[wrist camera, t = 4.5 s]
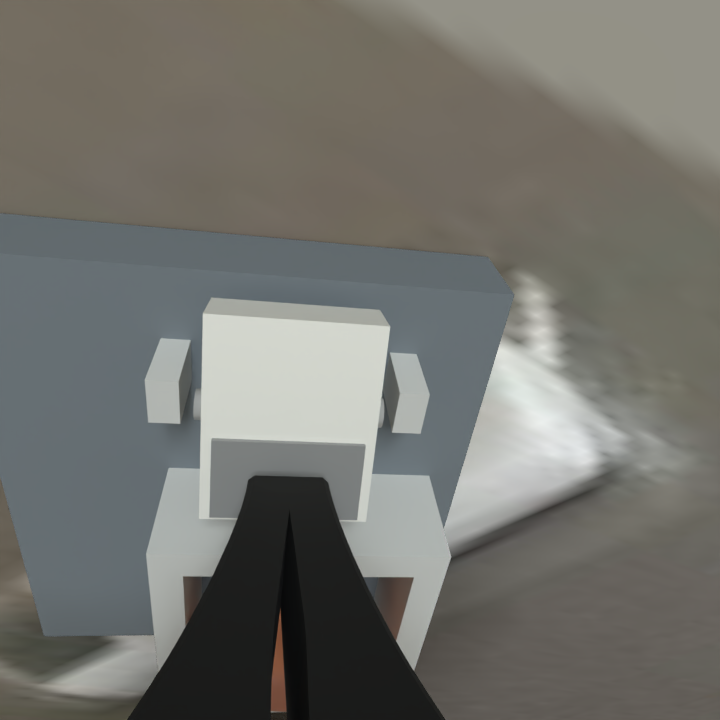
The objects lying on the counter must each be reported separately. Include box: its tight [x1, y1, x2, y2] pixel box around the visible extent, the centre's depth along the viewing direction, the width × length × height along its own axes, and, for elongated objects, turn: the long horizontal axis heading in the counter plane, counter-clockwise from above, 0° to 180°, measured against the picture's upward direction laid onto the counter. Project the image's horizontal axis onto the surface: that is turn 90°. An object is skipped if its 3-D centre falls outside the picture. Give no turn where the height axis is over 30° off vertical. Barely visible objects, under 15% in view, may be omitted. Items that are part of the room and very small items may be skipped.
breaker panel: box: [0, 213, 514, 712], centre depth 14 cm, size 12×11×4 cm
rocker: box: [193, 297, 390, 522], centre depth 11 cm, size 4×4×1 cm
